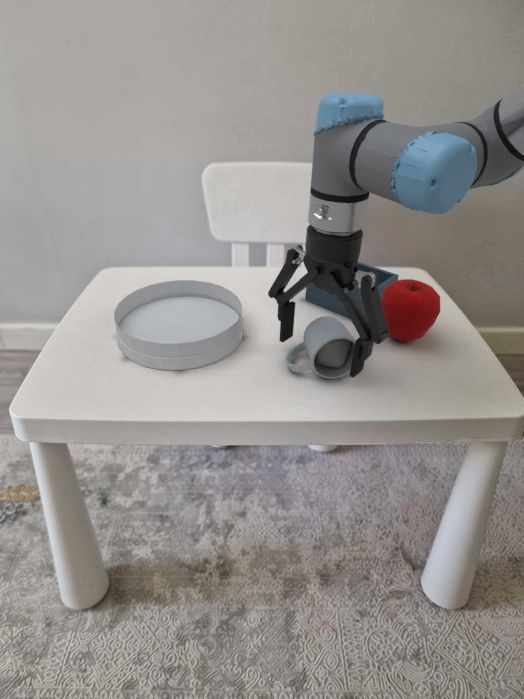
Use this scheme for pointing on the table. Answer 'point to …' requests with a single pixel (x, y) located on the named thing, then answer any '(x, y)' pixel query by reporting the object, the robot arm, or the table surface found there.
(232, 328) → the dish
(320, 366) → the ceramic mug
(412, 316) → the apple
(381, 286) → the tub
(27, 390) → the table surface
